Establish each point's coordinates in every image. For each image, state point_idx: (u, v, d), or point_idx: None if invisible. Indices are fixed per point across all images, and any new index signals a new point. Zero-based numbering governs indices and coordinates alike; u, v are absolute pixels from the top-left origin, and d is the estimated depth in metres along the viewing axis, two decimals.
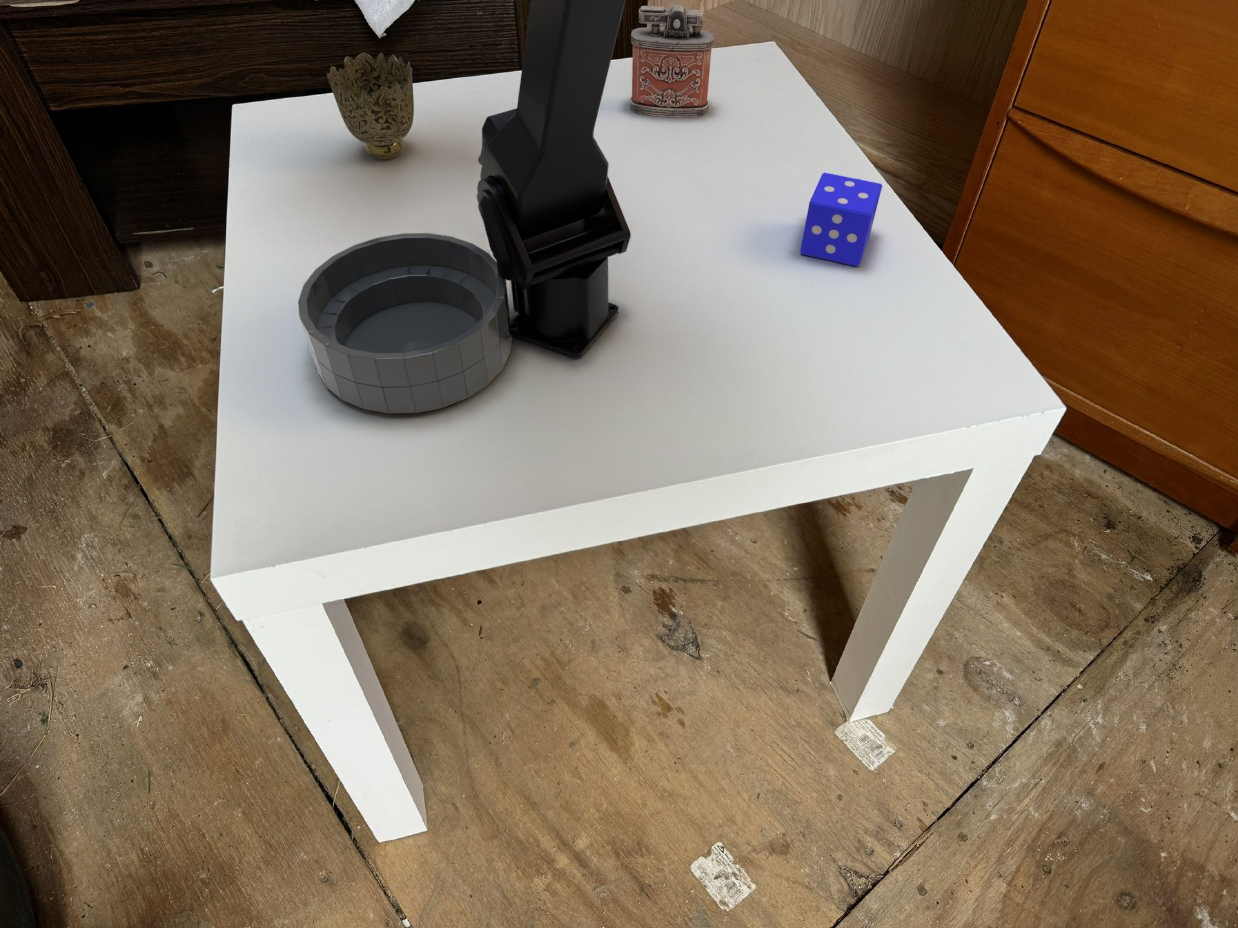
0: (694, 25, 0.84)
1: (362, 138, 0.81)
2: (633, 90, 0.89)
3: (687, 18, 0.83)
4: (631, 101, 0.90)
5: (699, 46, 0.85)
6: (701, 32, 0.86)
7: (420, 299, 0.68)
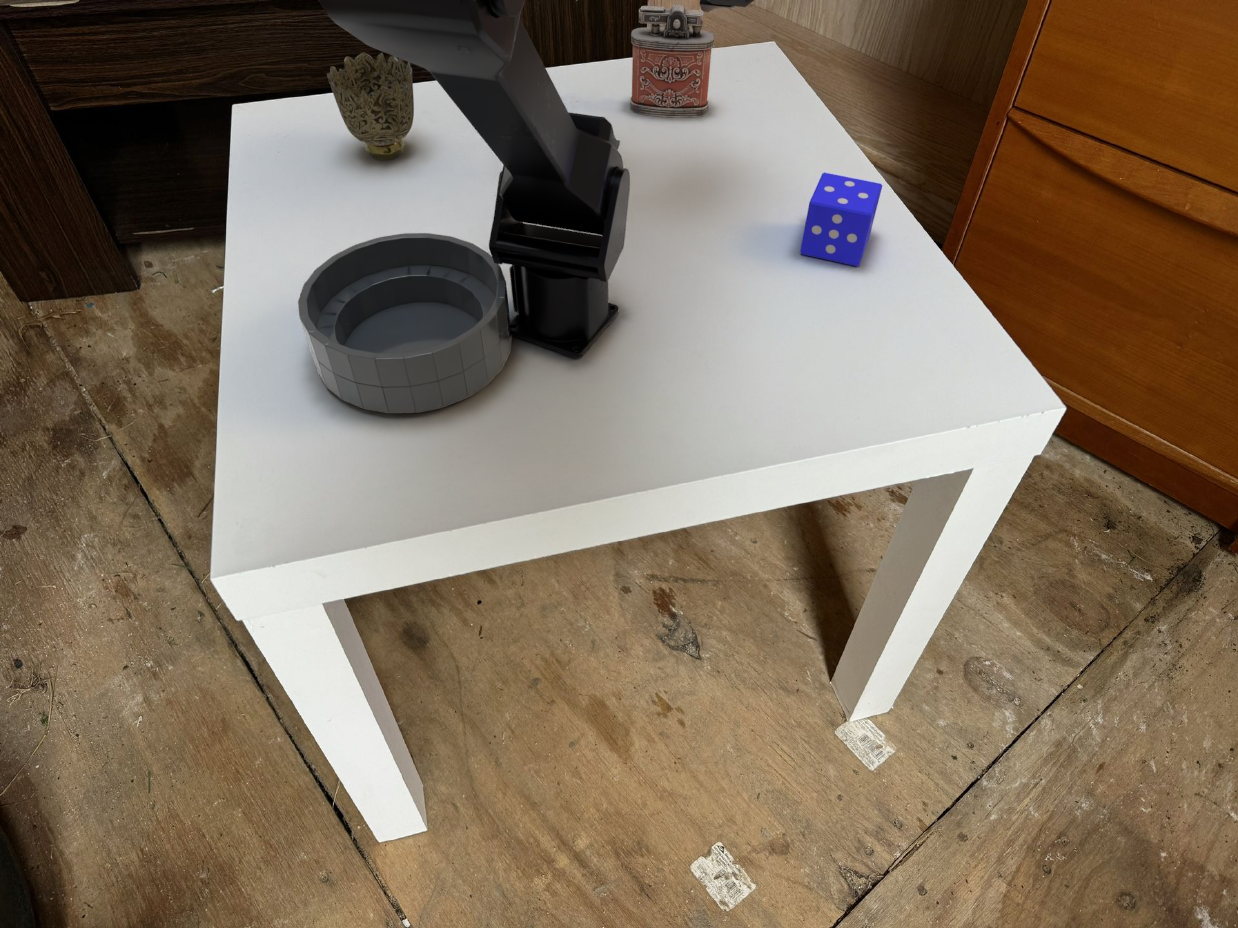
0: (694, 25, 0.84)
1: (362, 138, 0.81)
2: (633, 90, 0.89)
3: (687, 18, 0.83)
4: (631, 101, 0.90)
5: (699, 46, 0.85)
6: (701, 32, 0.86)
7: (420, 299, 0.68)
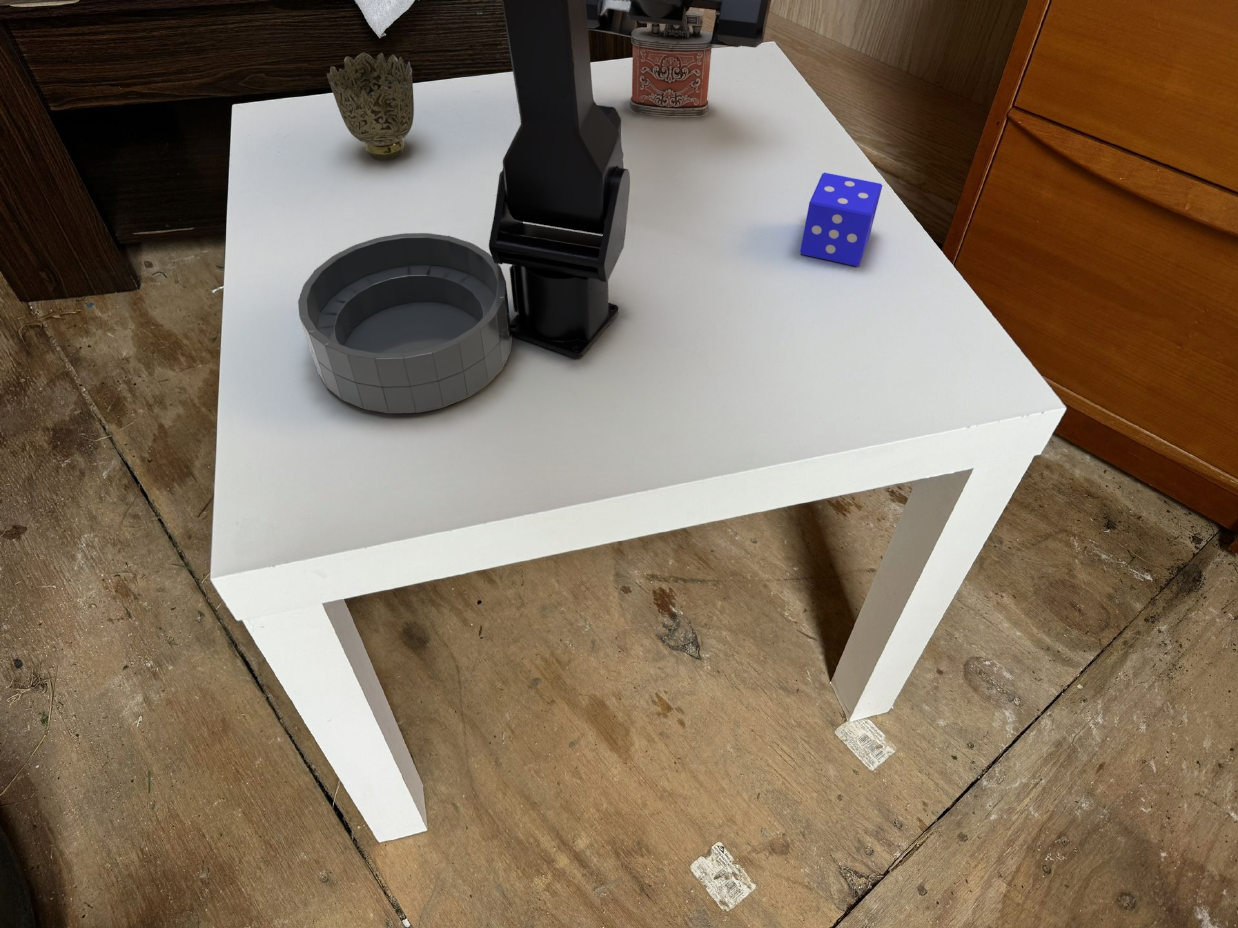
0: (694, 25, 0.84)
1: (362, 138, 0.81)
2: (633, 90, 0.89)
3: (687, 18, 0.83)
4: (631, 101, 0.90)
5: (699, 46, 0.85)
6: (701, 32, 0.86)
7: (420, 299, 0.68)
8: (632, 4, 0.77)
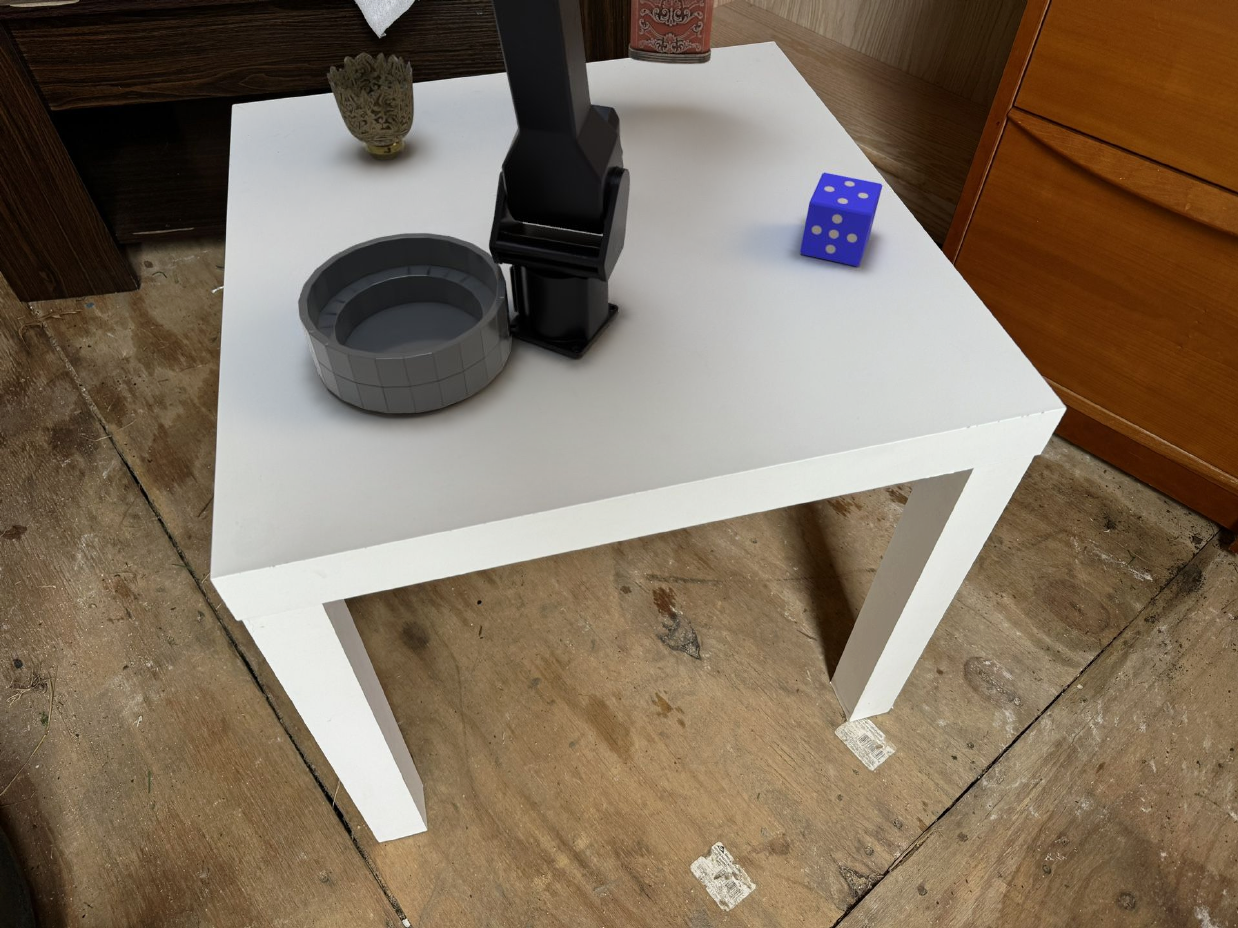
0: None
1: (362, 138, 0.81)
2: (632, 35, 0.85)
3: None
4: (630, 47, 0.86)
5: None
6: None
7: (420, 299, 0.68)
8: None
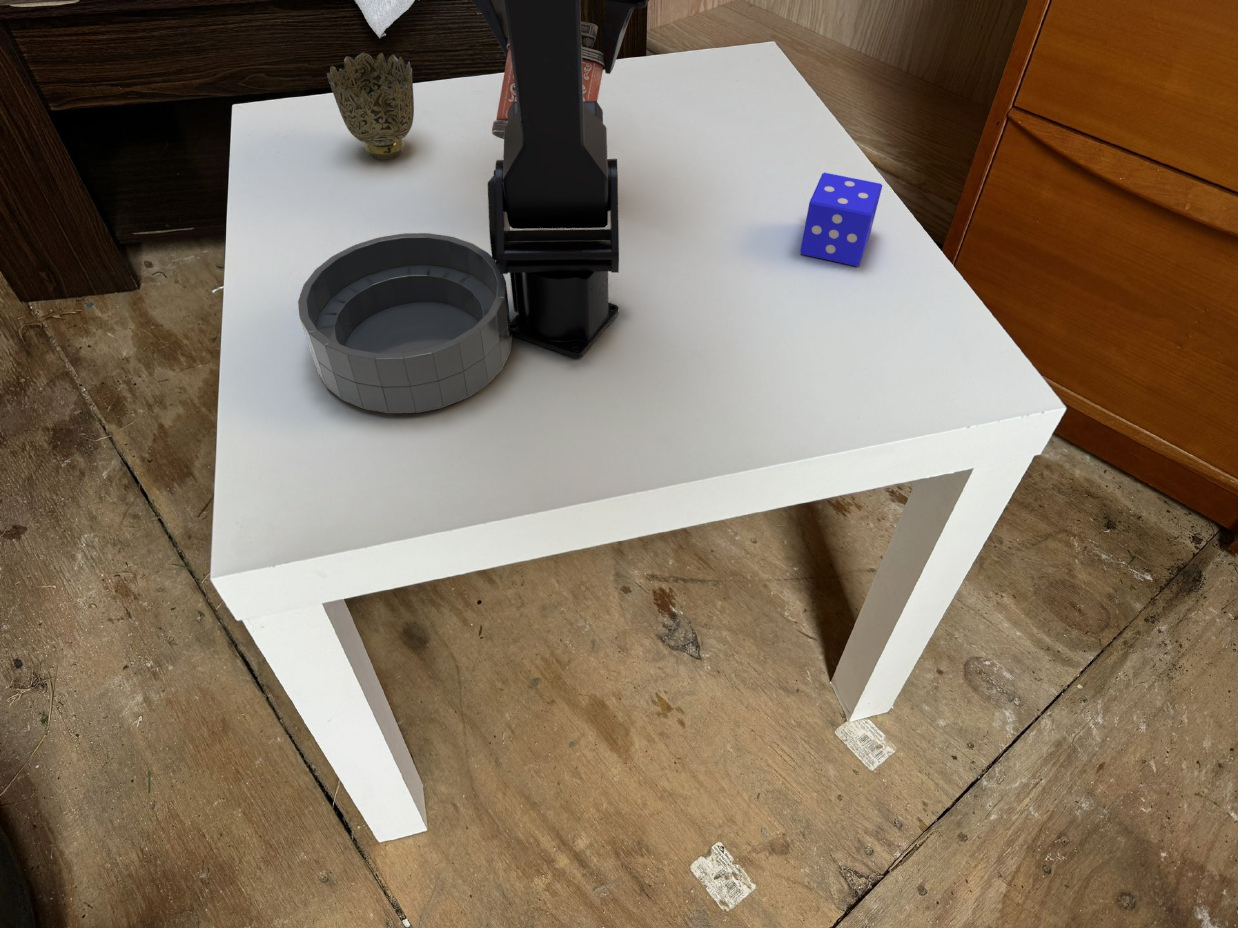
0: (585, 36, 0.70)
1: (362, 138, 0.81)
2: (499, 105, 0.70)
3: None
4: None
5: (588, 53, 0.69)
6: None
7: (420, 299, 0.68)
8: None
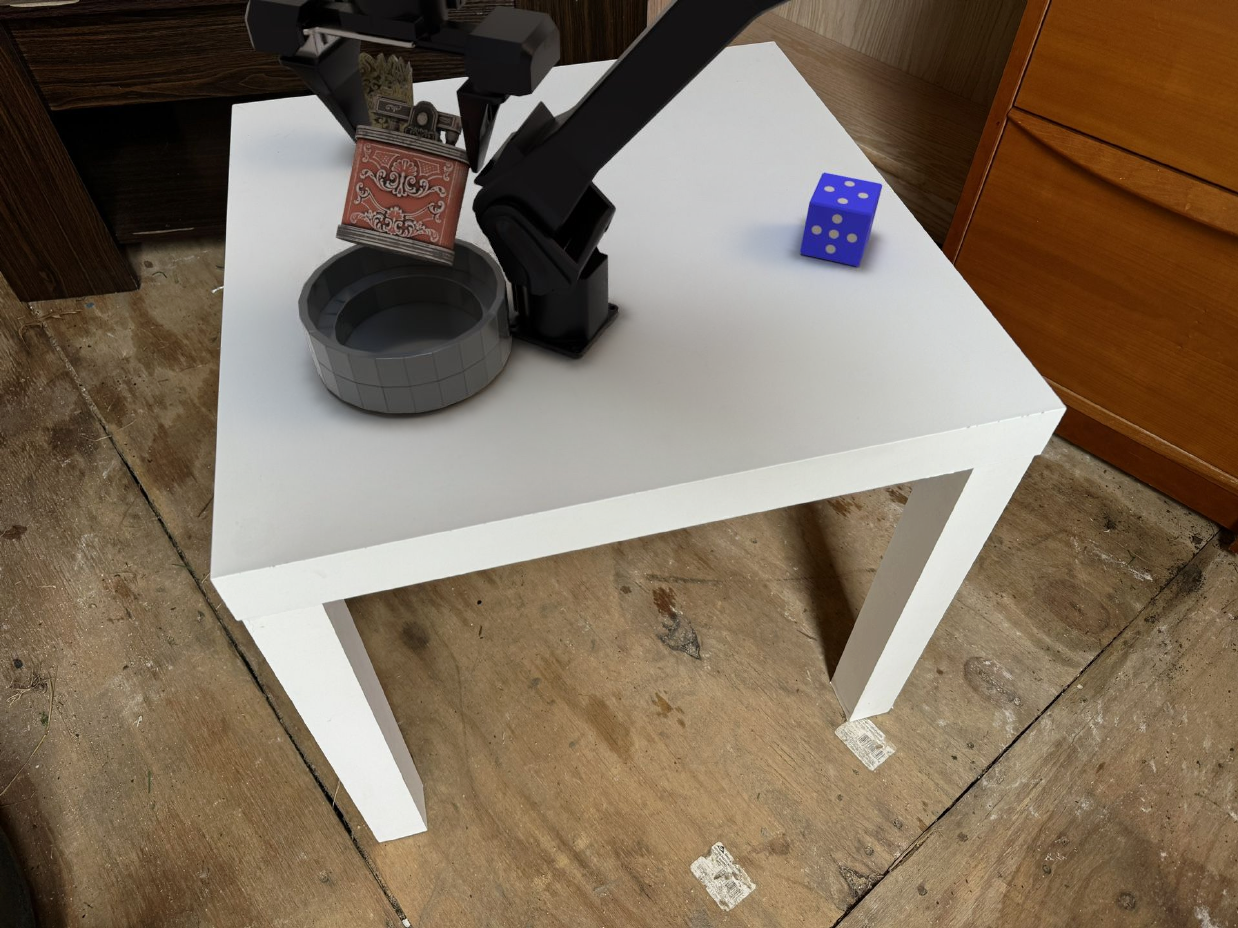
0: (447, 129, 0.59)
1: None
2: (345, 207, 0.59)
3: (439, 115, 0.59)
4: (339, 225, 0.60)
5: (448, 150, 0.58)
6: None
7: (420, 299, 0.68)
8: (349, 5, 0.52)
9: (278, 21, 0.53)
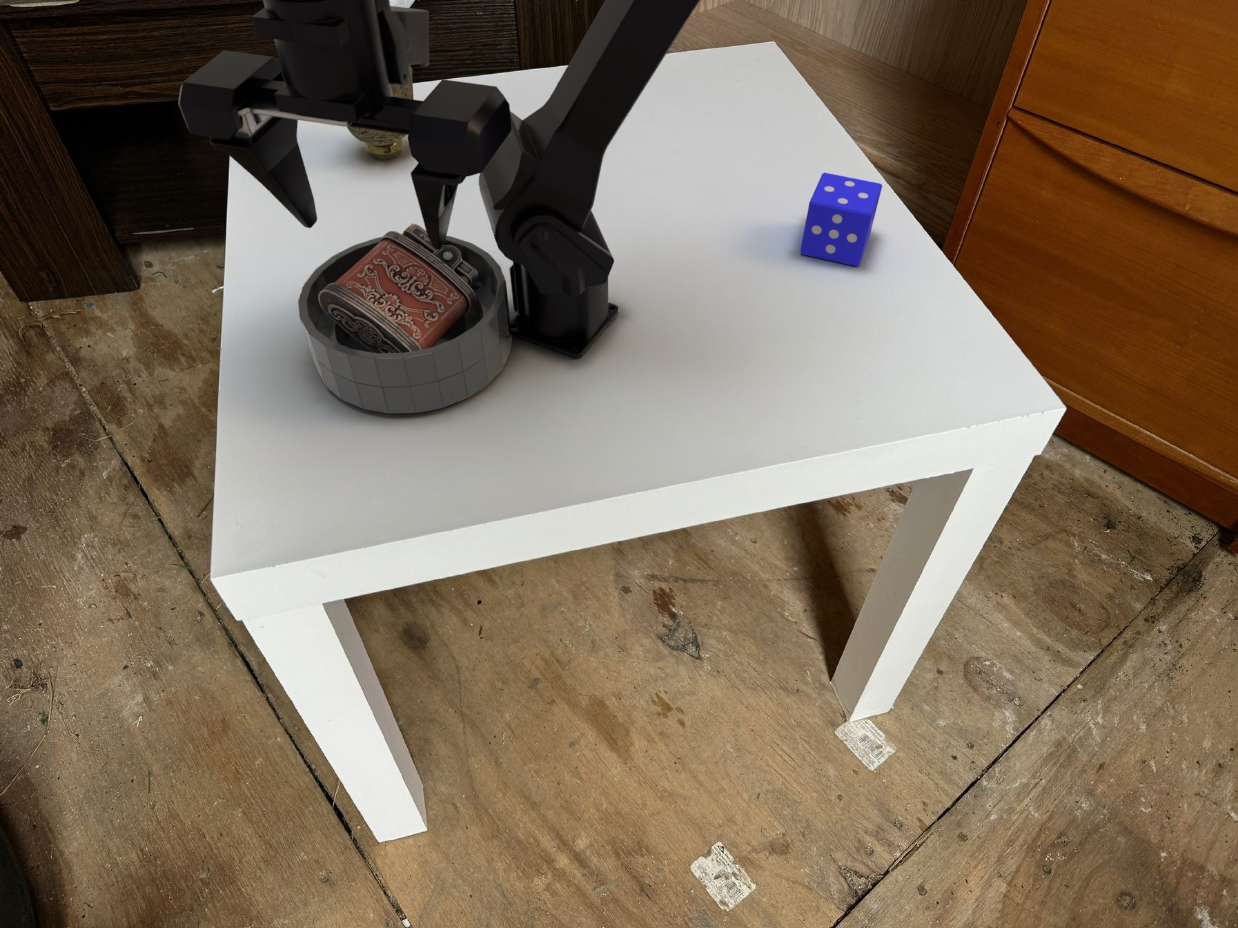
0: (464, 274, 0.64)
1: (362, 138, 0.81)
2: (343, 275, 0.60)
3: (461, 262, 0.65)
4: None
5: (461, 284, 0.63)
6: None
7: None
8: (285, 87, 0.49)
9: (212, 105, 0.50)
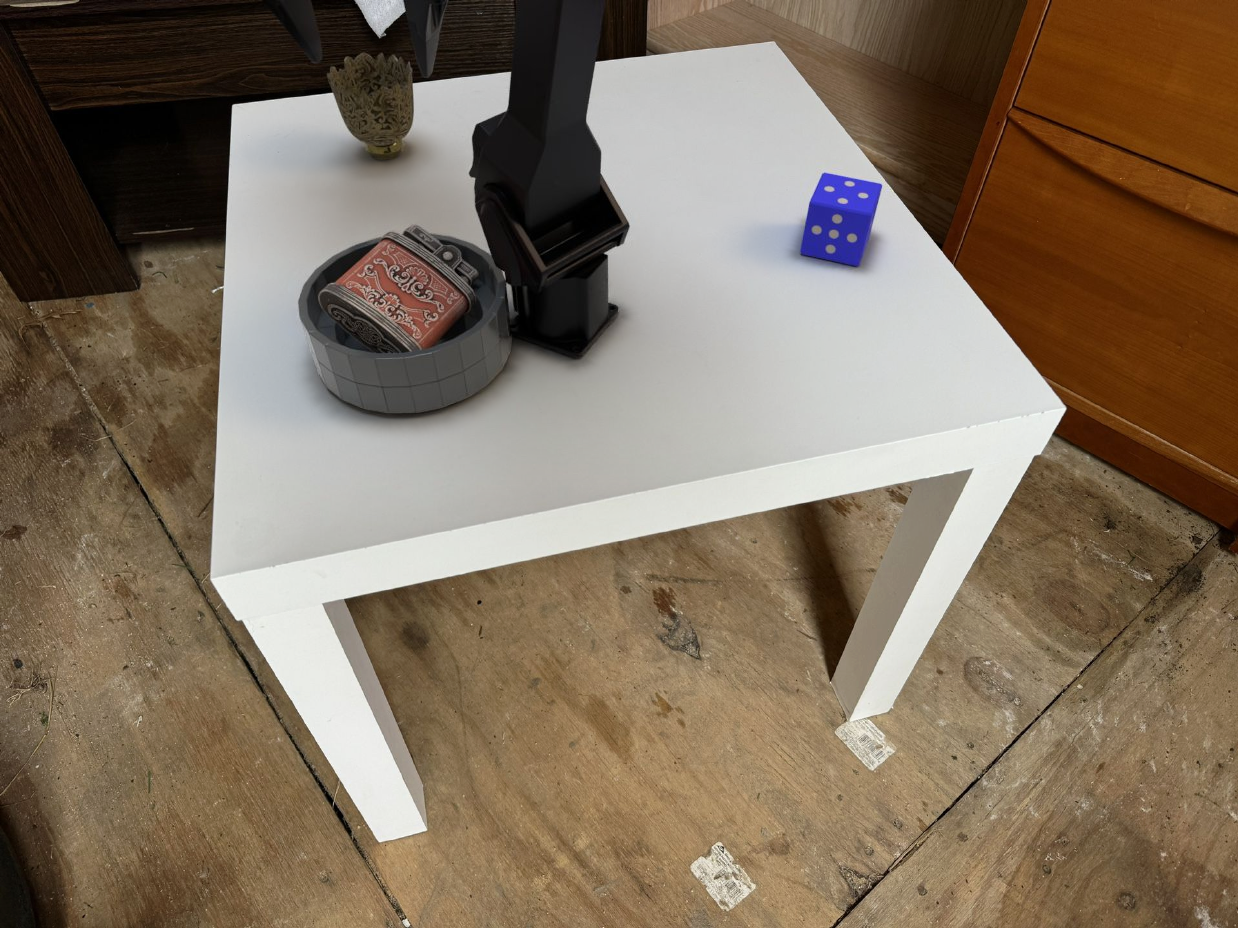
0: (464, 274, 0.64)
1: (362, 138, 0.81)
2: (343, 275, 0.60)
3: (461, 262, 0.65)
4: None
5: (461, 284, 0.63)
6: None
7: None
8: None
9: None
